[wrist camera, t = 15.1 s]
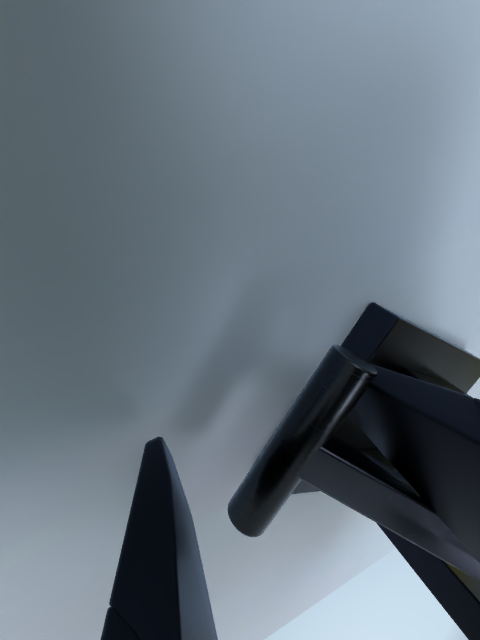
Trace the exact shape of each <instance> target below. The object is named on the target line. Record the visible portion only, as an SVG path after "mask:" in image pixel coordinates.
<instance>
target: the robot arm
mask: <svg viewBox="0 0 480 640" xmlns="http://www.w3.org/2000/svg"><path fill="white" fill-rule="evenodd" d="M371 365H372V366H373V367H374V368H375V370H376V371H377V376H376V377H375V379H374V380H373V381H372V383H371V384H370V386H369V387H368V388H367V390H366V391H365V392H364V394H363V395H362V397H361V398H360V399H359V401H358V402H357V404H356V405H355V406H354V408H353V409H352V410H351V412H350V415H351V416H352V418H353V419H354V420H355V422H356V423H357V424H358V426H359V427H360V428H361V429H362V431H363V432H364V433H365V434H366V435H367V436H368V438H369V439H370V440H371V441H372V442H373V443H374V444H375V445H376V447H377V448H378V449H379V450H380V451H381V452H382V453H383V455H384V456H385V457H386V458H387V459H388V460H389V461H390V462H391V464H392V465H393V466H394V467H395V468H396V469H397V470H398V472H399V473H400V474H401V475H402V476H403V477H404V478H405V480H406V481H407V482H408V483H409V484H410V485H411V486H412V487H413V489H414V490H415V491H416V492H417V493H418V494H419V495H420V497H421V498H422V499H423V500H424V501H425V502H426V503H427V504H428V505H429V506H430V507H431V508H432V509H433V511H434V512H435V513H436V515H437V516H438V517H439V518H440V519H441V520H442V522H443V523H444V524H445V525H446V526H447V527H448V528H449V529H450V531H451V532H452V533H453V534H454V535H455V536H456V537H457V539H458V540H459V541H460V542H461V543H462V544H463V545H464V546H465V548H466V549H467V550H468V551H469V552H470V553H471V554H472V556H473V557H474V558H475V559H476V560H477V561H478V562H479V563H480V400H479V399H476V398H473V399H472V397H470V396H467V395H464V394H461V393H458V392H455V391H452V390H449V389H446V388H443V387H440V386H437V385H434V384H431V383H428V382H425V381H422V380H419V379H416V378H413V377H410V376H407V375H404V374H400V373H397V372H394V371H391V370H388V369H385V368H382V367H379V366H376V365H373V364H371ZM109 604H110V606H111V607H109V608H108V610H107V614H106V619H105V623H104V628H103V632H102V636H101V640H218V639H217V634H216V629H215V624H214V619H213V614H212V610H211V605H210V600H209V595H208V590H207V585H206V581H205V576H204V571H203V566H202V561H201V557H200V552H199V547H198V542H197V537H196V532H195V528H194V523H193V519H192V515H191V512H190V509H189V505H188V503H187V500H186V497H185V494H184V491H183V488H182V485H181V482H180V479H179V476H178V473H177V470H176V467H175V464H174V461H173V458H172V456H171V454H170V451H169V449H168V447H167V445H166V443H165V441H164V439H163V438H162V437H157V438H155V439H153V440H150V441H148V442H147V443H146V445H145V449H144V453H143V457H142V462H141V466H140V470H139V475H138V479H137V484H136V488H135V492H134V497H133V501H132V506H131V510H130V514H129V519H128V523H127V527H126V532H125V536H124V541H123V545H122V549H121V554H120V558H119V563H118V567H117V571H116V576H115V580H114V584H113V589H112V593H111V598H110V602H109Z"/></svg>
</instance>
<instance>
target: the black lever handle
mask: <svg viewBox="0 0 480 640" xmlns="http://www.w3.org/2000/svg"><path fill="white" fill-rule="evenodd" d="M376 376H377V371H376V370H375V368H374V367H373V366H372V365H371V364H370V363H368V362H367V361H366V360H364V359H363V358H362V357H360V356H359V355H357V354H355V353H354V352H352V351H350V350H348V349H346V348H344V347H342V346H339V345H333V346H332V347H331V348H330V350H329V351H328V353H327V354H326V356H325V357H324V359H323V360H322V362H321V363H320V365H319V366H318V368H317V369H316V371H315V372H314V374H313V375H312V377H311V378H310V380H309V381H308V383H307V384H306V386H305V388H304V389H303V391H302V392H301V394H300V395H299V397H298V398H297V400H296V401H295V403H294V404H293V406H292V407H291V409H290V410H289V412H288V413H287V415H286V416H285V418H284V419H283V421H282V422H281V424H280V426H279V427H278V429H277V430H276V432H275V433H274V435H273V436H272V438H271V439H270V441H269V442H268V444H267V445H266V447H265V448H264V450H263V451H262V453H261V454H260V456H259V457H258V459H257V460H256V462H255V463H254V465H253V467H252V468H251V470H250V471H249V473H248V474H247V476H246V477H245V479H244V480H243V482H242V483H241V485H240V486H239V488H238V489H237V491H236V492H235V494H234V495H233V497H232V498H231V500H230V502H229V504H228V515H229V518H230V520H231V522H232V524H233V525H234V526H235V527H236V529H237V530H238V531H240V532H241V533H243V534H244V535H246V536H249V537H257V536H260V535H261V534H262V533H263V532H264V531H265V530H266V528H267V527H268V525H269V524H270V523H271V521H272V520H273V518H274V517H275V516H276V514H277V513H278V512H279V510H280V509H281V507H282V506H283V505H284V503H285V502H286V500H287V499H288V498H289V496H290V495H291V494H292V492H293V491H294V489H295V488H296V487H297V485H298V484H299V482H300V481H301V480H303V481H304V482H306V483H308V484H310V485H311V486H313V487H315V488H317V489H318V490H320V491H322V492H324V493H325V494H327V495H329V496H331V497H332V498H334V499H336V500H338V501H339V502H341V503H343V504H345V505H346V506H348V507H350V508H352V509H353V510H355V511H357V512H359V513H360V514H362V515H364V516H366V517H367V518H369V519H371V520H373V521H375V522H376V523H378V524H380V525H382V526H383V527H385V528H387V529H389V530H390V531H392V532H394V533H396V534H397V535H399V536H401V537H403V538H404V539H406V540H408V541H410V542H411V543H413V544H415V545H417V546H418V547H420V548H422V549H424V550H425V551H427V552H429V553H431V554H432V555H434V556H436V557H438V558H439V559H441V560H443V561H445V562H446V563H448V564H450V565H452V566H454V567H455V568H457V569H459V570H461V571H462V572H464V573H466V574H468V575H469V576H471V577H473V578H475V579H476V580H478V581H480V563H479V562H478V561H477V560H476V559H475V558H474V557H473V556H472V554H471V553H470V552H469V551H468V550H467V549H466V548H465V546H464V545H463V544H462V543H461V542H460V541H459V540H458V539H457V537H456V536H455V535H454V534H453V533H452V532H451V531H450V529H449V528H448V527H447V526H446V525H445V524H444V523H443V522H442V520H441V519H440V518H439V517H438V516H437V515H436V513H435V512H434V511H433V509H432V508H431V507H430V506H429V505H428V504H427V503H426V502H425V501H424V500H423V499H422V498H421V497H420V495H419V494H418V493H417V492H416V491H415V490H414V489H413V487H412V486H411V485H410V484H409V483H408V482H407V481H406V480H405V478H404V477H403V476H402V475H401V474H400V473H399V472H397V471H396V470H394V469H392V468H390V467H389V466H387V465H385V464H383V463H381V462H380V461H378V460H376V459H374V458H373V457H371V456H369V455H367V454H366V453H364V452H362V451H360V450H358V449H357V448H355V447H353V446H351V445H350V444H348V443H346V442H344V441H343V440H341V439H339V438H337V437H335V436H334V434H335V433H336V431H337V430H338V428H339V427H340V426H341V424H342V423H343V422H344V420H345V419H346V417H347V416H348V415H349V413H350V412H351V410H352V409H353V408H354V406H355V405H356V404H357V402H358V401H359V399H360V398H361V397H362V395H363V394H364V392H365V391H366V390H367V388H368V387H369V386H370V384H371V383H372V381H373V380H374V379H375V377H376Z"/></svg>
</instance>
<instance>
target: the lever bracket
mask: <svg viewBox="0 0 480 640" xmlns="http://www.w3.org/2000/svg"><path fill="white" fill-rule="evenodd" d="M342 347H344V348H346V349H348V350H350V351H352V352H354V353H355V354H357V355H359V356H360V357H362V358H363V359H364V360H366V361H367V362H368V363H370V364H373V365H376V366H379V367H382V368H385V369H388V370H391V371H394V372H397V373H400V374H404V375H407V376H410V377H413V378H416V379H419V380H422V381H425V382H428V383H431V384H434V385H437V386H440V387H443V388H446V389H449V390H452V391H455V392H458V393H461V394H464V395H467V396H469V395H468V394H466V393H467V392H468V391H469V389H470V388H471V387H472V386H473V385H474V383H475V382H476V381H477V380H478V379H479V377H480V359H479V358H477V357H476V356H474V355H472V354H470V353H469V352H467V351H465V350H463V349H461V348H459V347H457V346H455V345H454V344H452V343H450V342H448V341H446V340H444V339H442V338H440V337H438V336H437V335H435V334H433V333H431V332H429V331H427V330H425V329H423V328H421V327H419V326H418V325H416V324H414V323H412V322H410V321H408V320H406V319H404V318H402V317H401V316H399V315H397V314H395V313H393V312H391V311H389V310H387V309H385V308H383V307H382V306H380V305H378V304H376V303H374V302H372V303H370V305H369V306H368V308H367V309H366V311H365V312H364V314H363V315H362V317H361V318H360V320H359V321H358V323H357V324H356V326H355V327H354V329H353V330H352V332H351V333H350V335H349V336H348V338H347V339H346V341H345V342H344V344H343V345H342ZM470 397H471V396H470ZM472 399H473V398H472ZM334 436H335V437H337V438H339V439H341V440H343V441H344V442H346V443H348V444H350V445H351V446H353V447H355V448H357V449H358V450H360V451H362V452H364V453H366V454H367V455H369V456H371V457H373V458H374V459H376V460H378V461H380V462H381V463H383V464H385V465H387V466H389V467H390V468H392V469H394V470H396V471H397V472H398V470H397V469H396V468H395V467H394V466H393V465H392V464H391V462H390V461H389V460H388V459H387V458H386V457H385V456H384V455H383V453H382V452H381V451H380V450H379V449H378V448H377V447H376V445H375V444H374V443H373V442H372V441H371V440H370V439H369V438H368V436H367V435H366V434H365V433H364V432H363V431H362V429H361V428H360V427H359V426H358V424H357V423H356V422H355V420H354V419H353V418H352V416H351V415H350V413H349V415H348V416H347V417H346V419H345V420H344V422H343V423H342V424H341V426H340V427H339V428H338V430H337V431H336V433H335V434H334ZM317 491H320V490H318V489H317V488H315V487H313V486H311V485H310V484H308V483H306V482H304V481H303V480H301V481H300V482H299V484H298V485H297V487H296V488H295V489H294V491H293V492H292V494H297V493H307V492H317ZM377 524H378V523H377ZM378 525H379V527H380V528H381V529H382V531H383V532H384V533H385V534H386V536H387V537H388V538H389V539H390V541H391V542H392V543H393V544H394V546H395V547H396V548H397V549H398V551H399V552H400V553H401V555H402V556H403V557H404V558H405V560H406V561H407V562H408V563H409V565H410V566H411V567H412V569H414V571H415V572H416V574H417V575H418V576H419V577H420V579H421V580H422V581H423V582H424V584H425V585H426V586H427V587H428V589H429V590H430V591H431V593H432V594H433V595H434V596H435V597H436V599H437V600H438V601H439V603H440V604H441V605H442V606H443V608H444V609H445V610H446V612H447V613H448V614H449V615H450V617H451V618H452V619H453V620H454V622H455V623H456V624H457V625H458V627H459V628H460V629H461V630H462V632H463V633H464V634H465V636H466V637H467V638H468V639H469V640H480V581H478V580H476V579H475V578H473V577H471V576H469V575H468V574H466V573H464V572H462V571H461V570H459V569H457V568H455V567H454V566H452V565H450V564H448V563H446V562H445V561H443V560H441V559H439V558H438V557H436V556H434V555H432V554H431V553H429V552H427V551H425V550H424V549H422V548H420V547H418V546H417V545H415V544H413V543H411V542H410V541H408V540H406V539H404V538H403V537H401V536H399V535H397V534H396V533H394V532H392V531H390V530H389V529H387V528H385V527H383V526H382V525H380V524H378Z"/></svg>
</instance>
